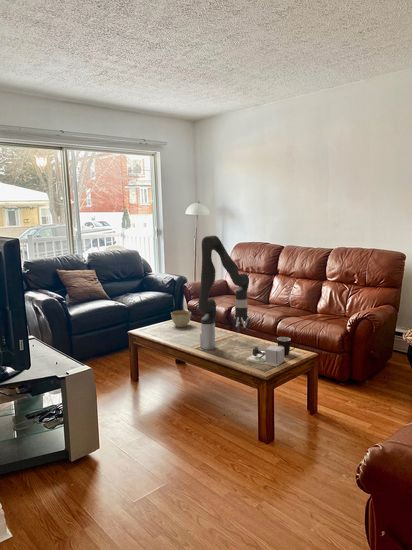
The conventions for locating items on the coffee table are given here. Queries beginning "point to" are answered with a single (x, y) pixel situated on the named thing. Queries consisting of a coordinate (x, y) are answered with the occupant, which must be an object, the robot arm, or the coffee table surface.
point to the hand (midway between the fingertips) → (241, 332)
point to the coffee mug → (285, 344)
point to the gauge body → (269, 356)
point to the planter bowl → (181, 318)
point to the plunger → (258, 352)
